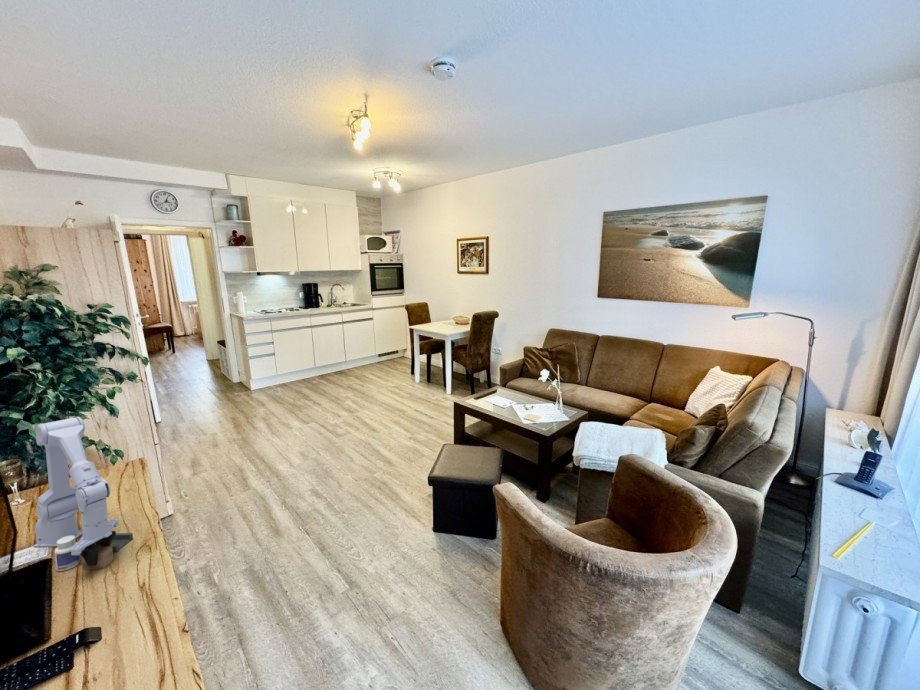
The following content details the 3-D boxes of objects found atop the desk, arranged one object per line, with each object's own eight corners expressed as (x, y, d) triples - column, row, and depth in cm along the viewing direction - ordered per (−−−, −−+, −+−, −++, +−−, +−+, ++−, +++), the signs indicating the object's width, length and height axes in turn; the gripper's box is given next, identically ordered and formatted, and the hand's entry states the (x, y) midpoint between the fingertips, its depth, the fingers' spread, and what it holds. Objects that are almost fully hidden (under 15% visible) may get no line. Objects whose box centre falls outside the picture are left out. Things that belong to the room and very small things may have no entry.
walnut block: (82, 569, 114) (81, 554, 114) (92, 561, 118) (91, 546, 117) (104, 568, 115) (103, 553, 115) (113, 560, 119) (112, 546, 118)
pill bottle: (84, 562, 117) (82, 536, 116) (62, 573, 112) (59, 546, 111) (73, 557, 119) (71, 532, 118) (51, 568, 114) (49, 542, 113)
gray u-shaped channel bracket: (81, 553, 121) (80, 547, 121) (99, 539, 128) (99, 533, 128) (116, 552, 122) (116, 546, 122) (132, 538, 129) (132, 533, 129)
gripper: (88, 535, 108) (91, 577, 110) (127, 507, 122) (129, 545, 124) (61, 535, 107) (65, 578, 109) (103, 507, 121) (106, 545, 123)
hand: (97, 560), depth 116 cm, fingers closed on walnut block, 3 cm apart
